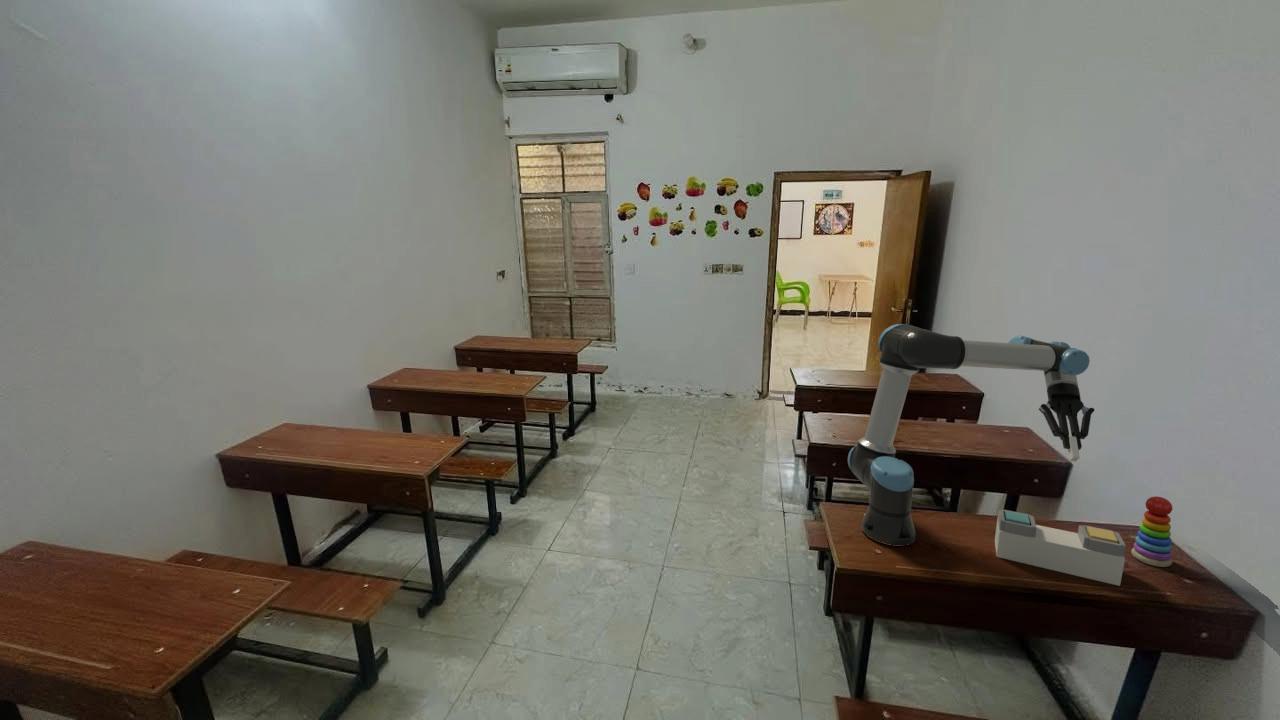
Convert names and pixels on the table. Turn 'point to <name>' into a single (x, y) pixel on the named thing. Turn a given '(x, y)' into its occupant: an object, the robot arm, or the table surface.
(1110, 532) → the mustard button
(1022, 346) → the robot arm
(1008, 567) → the table surface
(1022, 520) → the teal button
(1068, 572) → the button console
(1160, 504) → the stacking toy
